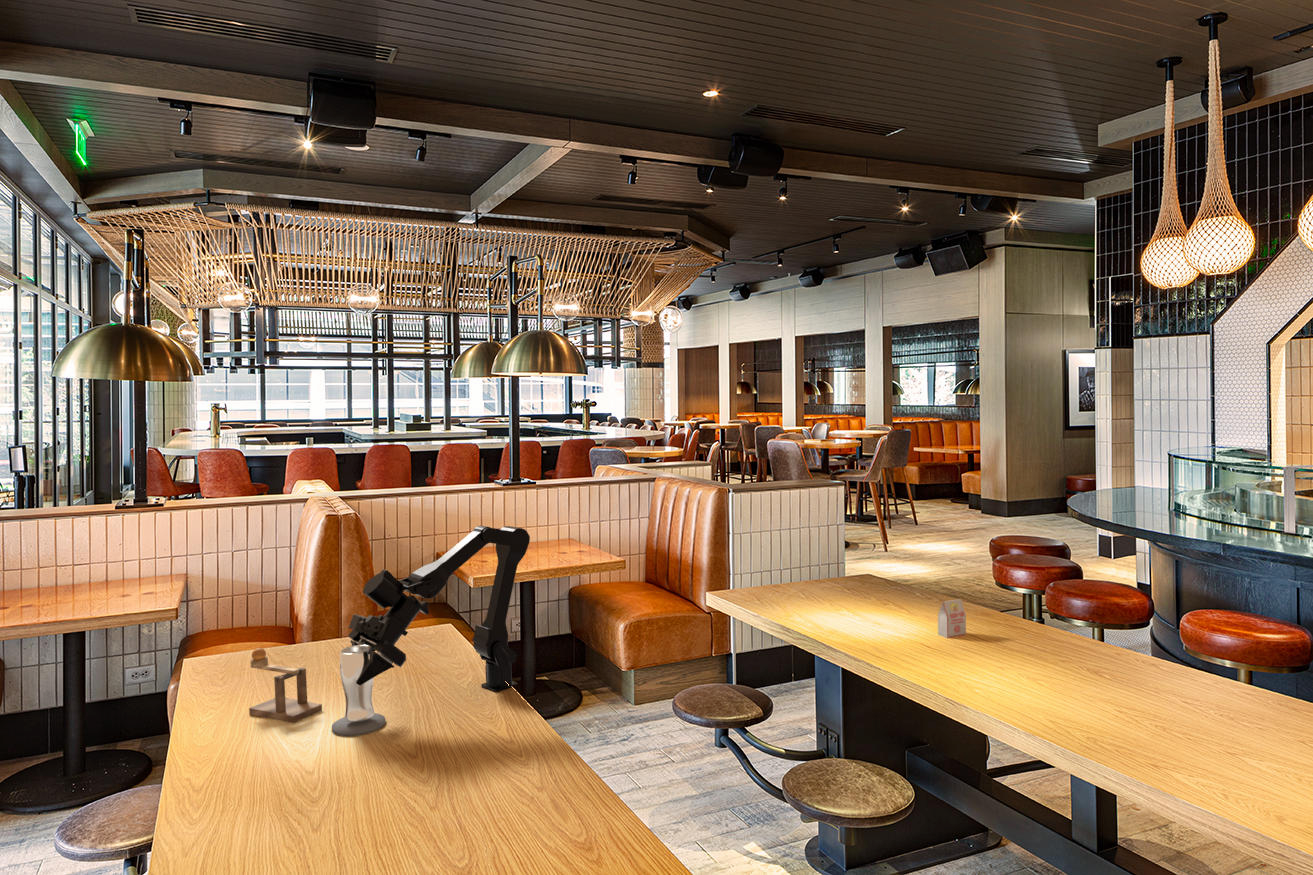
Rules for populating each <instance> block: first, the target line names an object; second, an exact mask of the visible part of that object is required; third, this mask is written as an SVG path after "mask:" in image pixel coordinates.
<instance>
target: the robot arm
mask: <svg viewBox="0 0 1313 875" xmlns="http://www.w3.org/2000/svg"><path fill="white" fill-rule="evenodd" d="M530 542H531V537H530V534H529V532H528V530H526V529H525V528H523V527H518V526H512V525H511V526H510V525H505V526H502V527H501V528H495V527H490V526H484V525H478V526H476V527H474V528H473V530H472V531H471V532H470V533H469V534H467V535H466V536H465V537H464V538H462V540H460V541H458V543H456V544H455V545H454V546H453V547H451V549H449V550H448V551H446V552H445V554H443V555H442V556H441V557H440V558H438V559H436V560H435V561H433V562H430V563H428V564H425V565H423V566H422V567H420V568H418V569H416V570H414V571H413V572H412V573H411V574H410V575H409V576H408V577H404V578H402V579H397V578H396V577H395V576H393V574H392V573H391V572H390V571H389V570H387V569H384V568H383V569H381V571H380V572H379V573H377V574H375V575H374V576H373V577H371V578H369V579H368V580H367V581H366V583H365V584H364V587H363V589H362V593H363V594H364V595H365V596H366V597H368V598H369V599H370V600H371V601H373V602H374V603H375V604H376V605H377V606H379V607H381V609H387V608H389V609H388V611H386V613H385V614H384V615H383V614H379V615H378V616H376V615H374V616H373V615H372V614H369V615H368V616H363V615H361V614H355V613H353V614H352V617H351V620H350V622H349V625H348V629H352V630H351V631H350V633H349V634H348V635H347V637H348V638H349V639H351V640H350V644H351V646H354V645H370V646H372V650H370V659H369V661H368V663H367V665H366V666H365V668H364V670H363V671H362V673H361V675H360V676H359V678H358V680H357V682H356V683H357V684H358V685H362V684H364V683H365V682H367V681H369V680H370V679H372V678H376V677H377V676H379V675H380V674H383V673H384V672H386V671H389V670H390V669H394V668H395V666H397V667H399V668H402V667H403V665H404V664H405V663H406V661H407V654H406V652H404V651H402V650H401V649H399V648H398V647H397V646H396V644H397V642H398V641H399V640H400V638H401V637H403V636H404V637H406V636H407V635H408V633H409V632H408V631H407V629H408V627H409V626H410V625H411V623H412V622H413V621H414V619H415V618H416V617H417V616H418V614H419V613H422V614H424V615H427V616H429V614H430V609H429V602H428V601H425V600H422V601H420V599H418V598H417V597H421V598H423V599H434V598H435V597H437V596H438V594H439V593H440V592H441V591H442V590H443V589H444V588H445V586H446V585H447V583H448V581H449V579H450V577H451V576H452V574H453V573H455V572H456V571H457V570H458V569H459V568H461V567H462V566H463V565H464V564H466V563H467V562H468V561H469V560H470V559H471V558H472V557H474V556H475V555H476V554H477V553H478V552H479V551H480V550H482V549H483V548H484V547H485V546H486V545H488V544H493V545H495V551H496V558H497V566H496V570H495V576H494V579H493V584H492V589H491V594H490V600H489V602H488V609H487V611H486V612H487V613H486V617H485V619H484V620H483V622H482V623H481V625H480V624H475V628H474V634H473V636H472V639H471V641H472V642H473V649H474V651H475V652H476V653H477V654H478V655H479V657H480V659H481V660H483V661H485V682H484V683H481V685H480V686H481V687H483V688H485V689H488V690H489V691H493V692H500V691H502V690H506V689H509V688H512V687H515V686H517V685H518V682H516V681H513V679H512V674H513V673H512V664H515V663H516V661H517V658H518V653H516V651H515V650H513V649H512V648H511V647H510V646H509V644H508V643H509V633H508V627H507V623H506V622H507V618H508V613H509V607H510V604H511V599H512V592H513V589H514V584H515V580H516V579H515V578H516V574H517V569H518V566H519V563H520V562H521V561H522V559H523V558H524V557H525V556H526V553H527V551H528V548H529V545H530ZM404 592H406V593H409V594H412V595H407V594H405V593H404ZM416 596H417V597H416ZM505 681H506V682H507V683H508V684H509V686H510V687H509V686H508V684H507V683H506V682H505Z"/></svg>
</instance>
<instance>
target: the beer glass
mask: <svg viewBox="0 0 1313 875" xmlns="http://www.w3.org/2000/svg"><path fill="white" fill-rule="evenodd" d="M370 650H372V646H370V645H354V646H352V645H350V646H346V647H344V648H342V649H340V651H339V652H340V654H339V656H340V657H339V671H340V673H339V674H340V675H339V676H340V681H341V685H342V690H343V692H344V698H345V704H346V705H345V714H344V717H345V720H346V721H348V722H361V721H365V720H368V719H370V718H372V717H373V716H374V713H375V709H374V707H373V706H374V705H373V698H372V696H373V688H374V681H375V680H374V678H375V677H374V678H372V679H370V680H369V681H367V682H365V683H364V684H362V685H358V684H357V683H356V682H357V680H358V678H359V676H360V675H361V673H362V671H363V670H364V668H365V666H366V665H367V663H368V661H369V659H370Z"/></svg>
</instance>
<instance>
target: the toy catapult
mask: <svg viewBox="0 0 1313 875" xmlns="http://www.w3.org/2000/svg"><path fill="white" fill-rule="evenodd" d="M266 655H267V652H266V650H265V649H264V648H262V647H257V648H255V649H254V650H253V651H252V653H251V659H250V668H252V669H258V670H264V671H269V672H274V673H275V672H276V673H282V674H280V675H276V676H274V677H273V678H274V697H273V698H271V699H269V700H266V701H264V702H261V703H258V704H256V705H253V706H251V707H249V708H248V710H249V715H251V716H255V717H261V718H266V719H270V720H275V721H282V722H287V723H291V724H295V723H297V722H299V721H302V720H303V719H306V718H308V717H310V716H312V715H315V714H317V713H320V712H322V711H323V704H322V703H319V702H317V703H316V702H310V701H308V685H307V668H306V667H298V668H292V667H286V666H280V665H275V664H269V660H268V656H266ZM293 677H296V696H297V699H296V698H295V699H294V698H290V697H286V688H285V687H286V686H285V681H286V680H287V679H291V678H293Z"/></svg>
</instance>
